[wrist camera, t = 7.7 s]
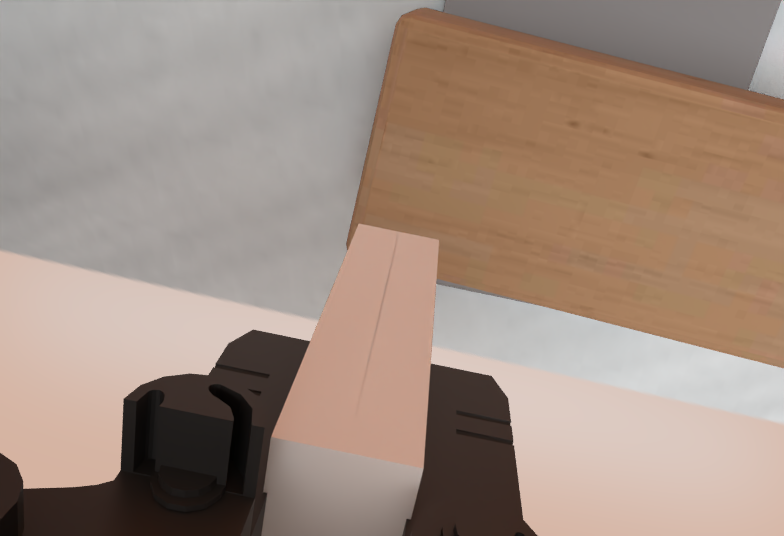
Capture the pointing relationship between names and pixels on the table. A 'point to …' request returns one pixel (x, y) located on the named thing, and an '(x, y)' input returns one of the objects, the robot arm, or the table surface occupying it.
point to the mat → (642, 34)
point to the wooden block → (583, 182)
